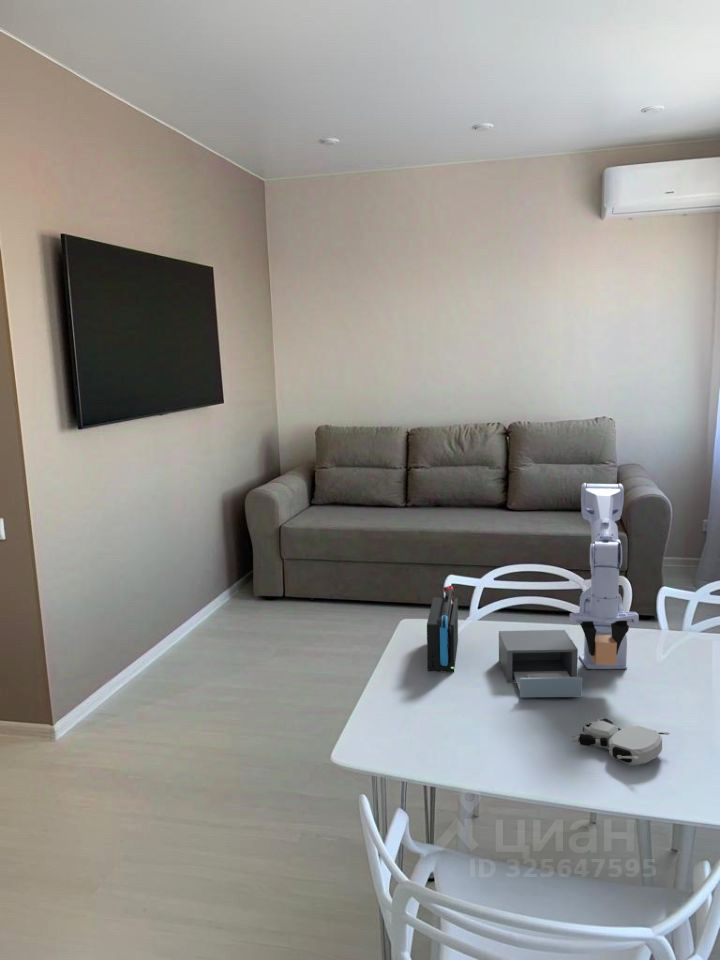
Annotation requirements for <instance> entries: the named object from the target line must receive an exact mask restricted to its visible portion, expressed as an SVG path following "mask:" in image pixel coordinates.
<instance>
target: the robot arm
mask: <svg viewBox="0 0 720 960" xmlns="http://www.w3.org/2000/svg"><path fill="white" fill-rule="evenodd" d="M580 488H581V493H580V502H581V503H580V505H581V506H580V507H581V514H582V519H584V520H585V521H588V522H589V525H590V529H591V530H590V533H591V534H590V535H591V539H590V540H591V543H590V546H589V565H590V575H591V577H590V583H591V584H590V587H589V588H587V589H585V590H584V591H582V592H581V594H580V597H579V612H574V613H573V612H570V613H569V622H570V624H571V625H572V626H573V625H577V624H579V625H580V627H581V629H582V631H583V633H584V645H583V647H584V648H583V654H582V653H578V658H579V659H580V660H581V662H582V664H583V665H584V666H585V668H586V669H587V670H612V669H613V670H617V669H619V670H622V669H623V670H625V669H627V668H628V665H627V659H628V658H627V653H628V649H627V648H628V638H627V633H629V627H630V626H629V625H628V623H633V624H639V618H640V617H639V614H638V613H637V612H636V611H625V610H624V608H623V607H624V606H623V597H622V596H621V594H620V593H619V589H620V587H619V585H620V584H619V583H620V581H619V580H620V569H621V566H622V565H623V564H622V563H623V545H622V542H621V539H619V530H618V528H619V527H618V525H617V523H616V522H617V521H619V520H620V519H621V516H622V515H623V507H624V502H625V501H624V500H625V498H624V497H625V489H624V485H623V484H622V483H586V482H583V483H582V484H581V487H580ZM601 635H611V637H612V638H613V639H614V640H615V641H616V643H617V653H616V665H596V664H595V663H594V661H593V660H592V659H591V657H590V655H591V656H594V655H595V636H601Z"/></svg>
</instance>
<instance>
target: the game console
mask: <svg viewBox="0 0 720 960" xmlns="http://www.w3.org/2000/svg"><path fill="white" fill-rule="evenodd" d="M442 589H443V592H444V593H445V595H444V597H433V598H432V601H431V606H430V610H429V614H428V618H427V622H426V652H427V654H426V659H427V660H426V661H427V662H426V664H427V668H426V669H427V670H426V671H427V672H433V671H437V672H439V673H440V672H442V673H443V672H444V673H445V672H446V673H455V670H454V669H456V659H457V653H458V646H459V645H458V643H459V614H458V613H459V612H458V610H459V602H458V601H459V600H458V599H459V598H458V597H455V591H454V587H453V586H452V585H448V586H445V587H443V588H442ZM437 672H436V673H437Z"/></svg>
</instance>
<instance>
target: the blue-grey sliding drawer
mask: <svg viewBox="0 0 720 960" xmlns="http://www.w3.org/2000/svg"><path fill="white" fill-rule="evenodd" d="M513 675H514V678H515V680H516V682H515V683H516V685H517V687H518V690H519V697H520V698H562V697H563V698H564V697H565V698H567V697H568V698H569V697H571V698H572V697H573V698H574V697H577V698H578V697H582V695H583V693H582V692H583V691H582V690H583V677H582V676H577V677H570V676H569V674H568V672H567V671H536V672H513Z"/></svg>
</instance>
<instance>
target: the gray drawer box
mask: <svg viewBox="0 0 720 960" xmlns="http://www.w3.org/2000/svg"><path fill="white" fill-rule="evenodd" d="M578 651H579V649H578V647H577V646H576V644H575V642H573V640H572V639H571V637H570V636H569V634H568V633H567V631H566V630H565V629H544V630H543V629H541V630H540V629H539V630H537V629H536V630H529V629H528V630H499V631H498V663H499V666H500V668H501V671H502V673H503V676H504V678H505V681H506V683H508V684H509V683H516V680H515V678H514V675H513V672H536V671H567V672H568V674H569V676H570V677H578V658H579V652H578Z"/></svg>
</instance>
